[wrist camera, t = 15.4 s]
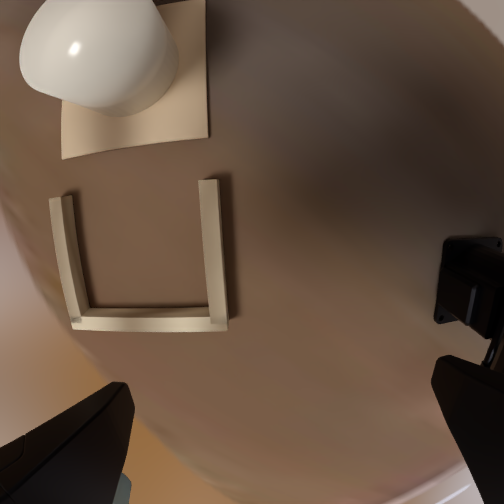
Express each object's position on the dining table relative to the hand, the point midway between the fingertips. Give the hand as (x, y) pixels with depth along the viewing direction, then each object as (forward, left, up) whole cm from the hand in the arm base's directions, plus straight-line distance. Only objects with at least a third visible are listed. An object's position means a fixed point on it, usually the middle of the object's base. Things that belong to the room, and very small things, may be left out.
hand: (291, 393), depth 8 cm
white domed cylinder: (+8, -16, -12) cm, 21 cm away
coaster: (+8, -13, -12) cm, 19 cm away
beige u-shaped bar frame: (+8, -2, -12) cm, 15 cm away
